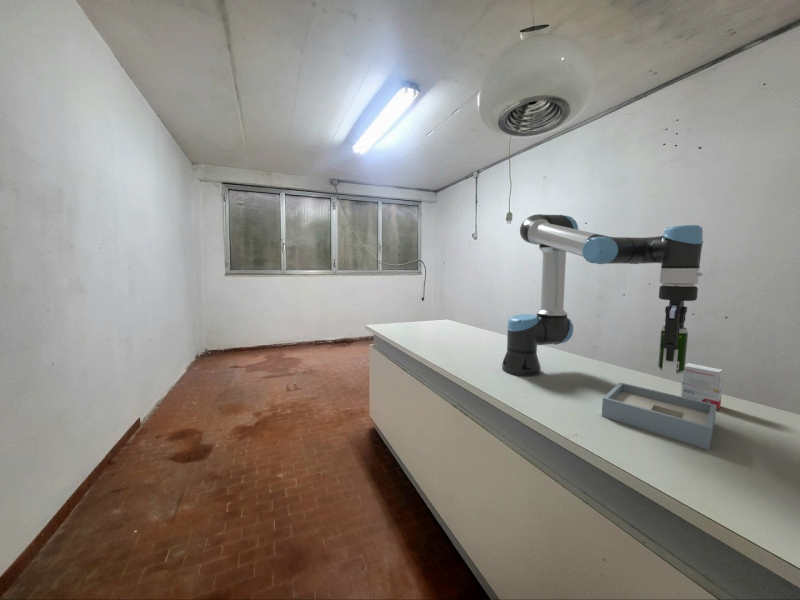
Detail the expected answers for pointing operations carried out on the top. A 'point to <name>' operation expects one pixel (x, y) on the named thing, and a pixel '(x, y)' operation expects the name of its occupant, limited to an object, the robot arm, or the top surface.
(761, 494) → the top surface
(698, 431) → the inlet box
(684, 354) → the beer can
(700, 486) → the top surface
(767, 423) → the top surface
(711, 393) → the ink box
